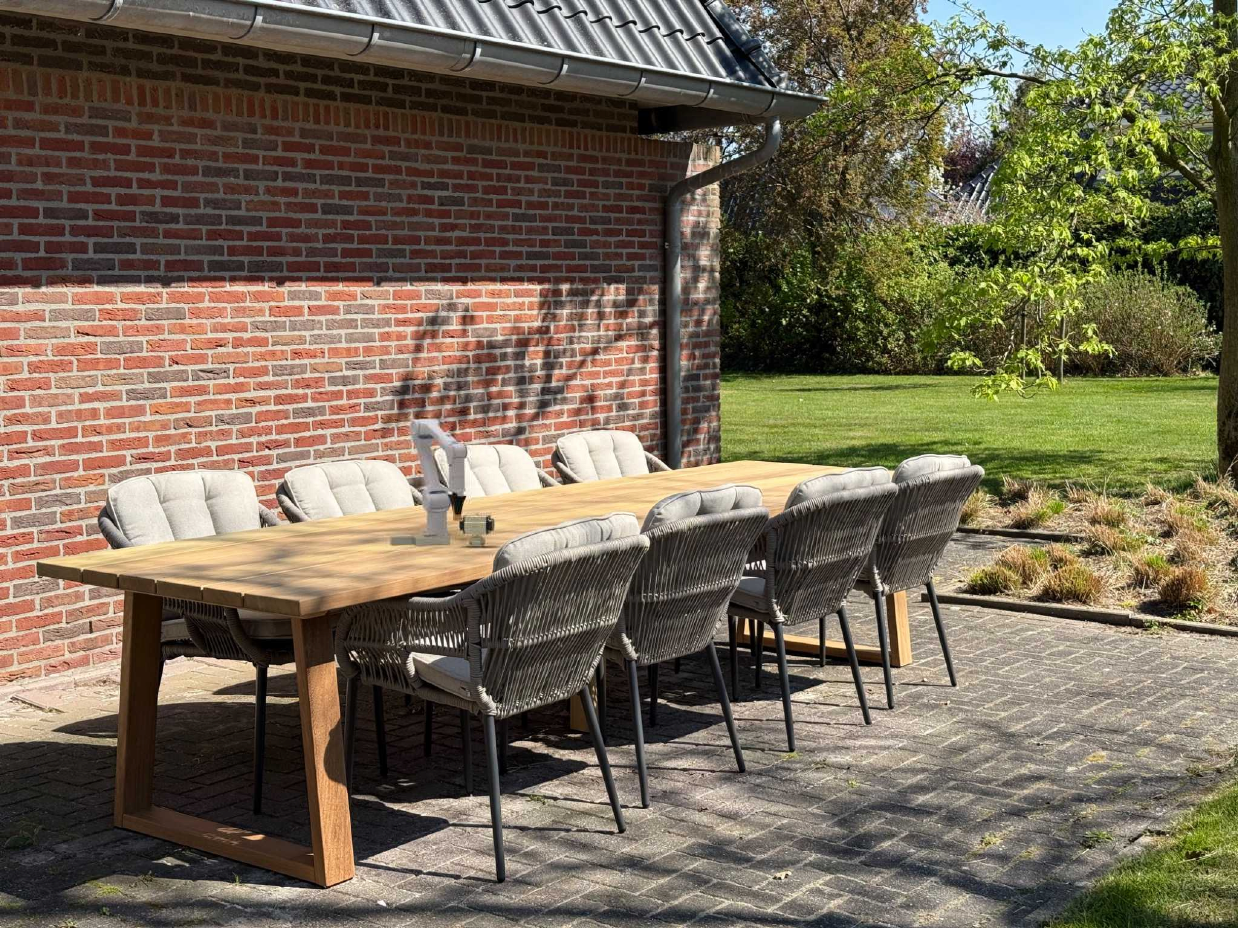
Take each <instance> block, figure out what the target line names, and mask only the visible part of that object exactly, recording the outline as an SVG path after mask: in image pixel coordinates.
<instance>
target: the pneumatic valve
mask: <svg viewBox="0 0 1238 928" xmlns="http://www.w3.org/2000/svg"><path fill="white" fill-rule="evenodd" d="M458 525H459V527H458V528H459V531H462V534H463V535H472V537H470V538H469V540H468V543H469V545H470V547H471V548H481V547H483V546H485V544H486V539H485V538H484V536H483V535H490V534H491V533H492V532H494V530H495V526H496V524H495V519H494V518H492V515H491V514H479V512H475V514H465V515H462V518H460V521H459V524H458Z"/></svg>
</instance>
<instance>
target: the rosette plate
mask: <svg viewBox="0 0 1238 928" xmlns="http://www.w3.org/2000/svg"><path fill="white" fill-rule="evenodd" d="M450 538H451V537H450V535H449V536H447V535H446V534H444V533H431V534H425V533H412V534H410V535H402V536H401V535H399V536H396V535H395V536H389V544H390V545H391V546H406V545H414V546H416V547H417V546H421V547H422V546H439V545H440V546H442V545H450V543H451V541H450V540H451V539H450Z"/></svg>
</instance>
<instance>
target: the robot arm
mask: <svg viewBox="0 0 1238 928" xmlns="http://www.w3.org/2000/svg"><path fill="white" fill-rule="evenodd" d="M409 425H410V426H409V434H410V436H411V437H410V438H411V440H412V444H414V445H415V448H416V452H417V455H418V458H419V463H420V467H421V471H422V474H423V478H424V479H423V480H424V483H425V488H424V489H423V491H422V492H421V504H422V508H423V509H424V511H425V512H427V513H426V514H427V515H426V531H424V533H423V534H431V533H444V534H446V535H447V536H449V537H450V535H451V534H450V533H449V532H448V512H449V511H450V510H449V509H450V508H451V509H452V511H453V505H454V512H455V515H462V513H463V507H464V503H465V501H466V498H467V495H465V494H464V493H465V492H466V486H465V485H466V483H465V482H466V481H465V479H466V478H465V475H466V473H465V467H466V466H465V459H466V458H467V456H468V451H469V450H468V447H467V445H466V444H465V442H459V441H457V440H456V438H454V437H453V436H452V434H451V433H450V432H449V433H445V431H444V430H443V429H442V428H441V427H440V426H441V424H440V421H438V419H437V418H428V419H427V418H425V419H424V418H423V419H415V418H414V419H412V420H411V422H410V424H409ZM436 441H437V444H438V446H439V447H440V448H441V449H442V450H443V451H444V452H445V453H444V454H445V457H446V463H447V465H448V488H447V487H446V486H444V485H443V484H442V483H440V478H439V475H438V471H437V467H436V464H435V459H434V456H433V452H432V448H431V445H432V444H433V443H435V442H436ZM449 492H450V493H451V494H450V493H449Z"/></svg>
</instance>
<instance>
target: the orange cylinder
mask: <svg viewBox="0 0 1238 928" xmlns="http://www.w3.org/2000/svg"><path fill="white" fill-rule="evenodd" d="M452 515H453V516H452V520H453V521H454V522H455V521H459V522H460V518H463V515H462V514H461V515H455V512H454V505H453V510H452Z"/></svg>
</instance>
